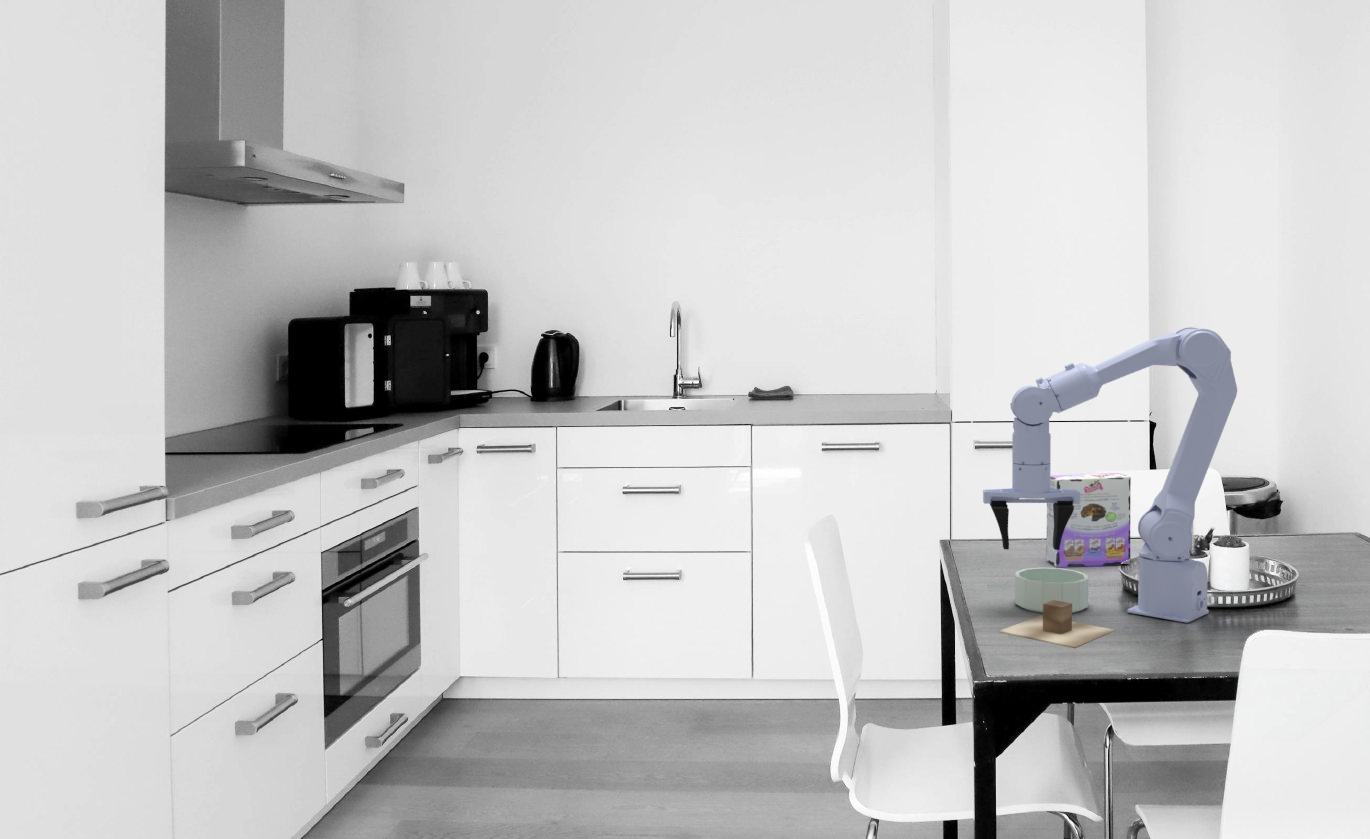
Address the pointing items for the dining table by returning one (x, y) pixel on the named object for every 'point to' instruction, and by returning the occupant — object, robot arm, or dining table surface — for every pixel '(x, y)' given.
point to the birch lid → (1057, 627)
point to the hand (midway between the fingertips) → (1030, 548)
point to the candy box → (1092, 521)
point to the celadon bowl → (1050, 588)
